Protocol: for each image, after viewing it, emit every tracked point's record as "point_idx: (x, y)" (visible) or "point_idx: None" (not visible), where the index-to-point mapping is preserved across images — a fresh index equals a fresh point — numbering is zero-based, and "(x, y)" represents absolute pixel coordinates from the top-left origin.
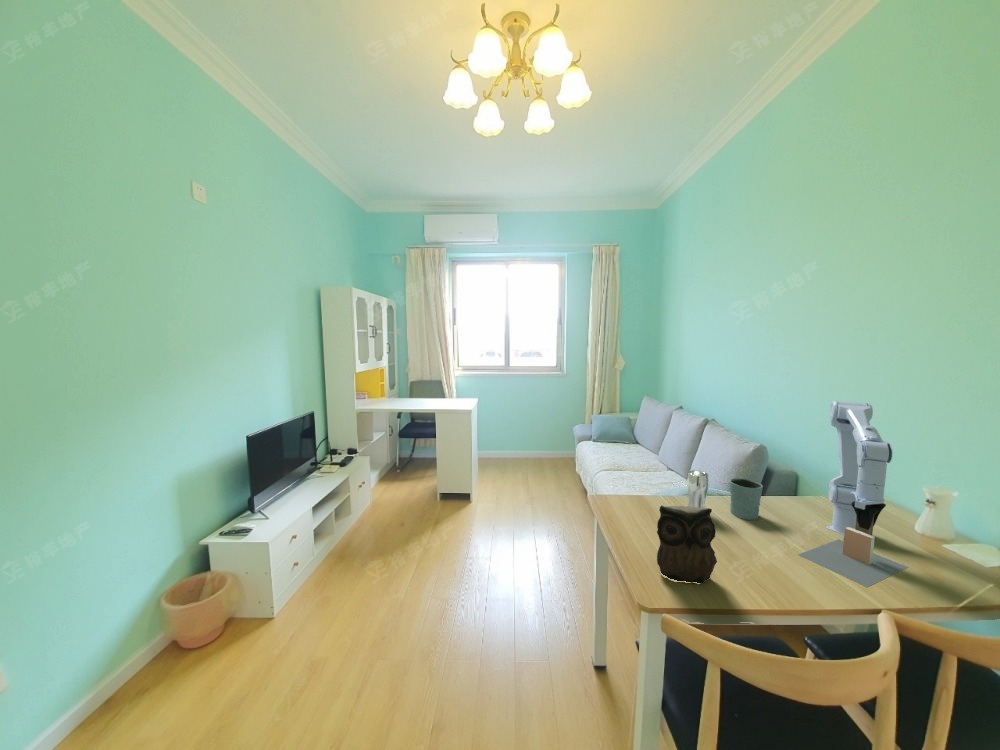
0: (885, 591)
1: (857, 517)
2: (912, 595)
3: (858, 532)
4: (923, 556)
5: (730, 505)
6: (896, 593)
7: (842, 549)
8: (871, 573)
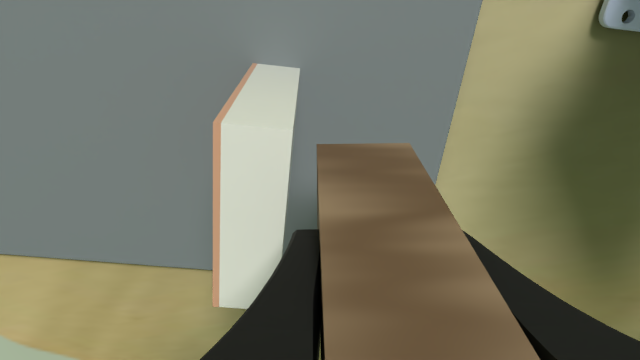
0: (63, 288)
1: (259, 294)
2: (147, 339)
3: (232, 224)
4: (630, 281)
5: None
6: (95, 310)
7: (323, 39)
8: (157, 224)
